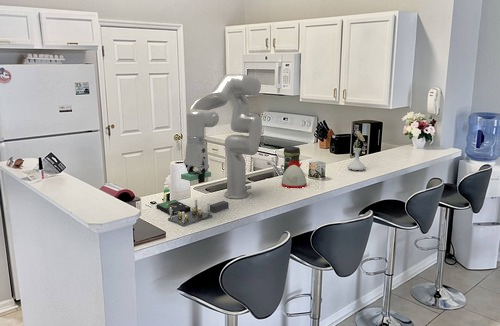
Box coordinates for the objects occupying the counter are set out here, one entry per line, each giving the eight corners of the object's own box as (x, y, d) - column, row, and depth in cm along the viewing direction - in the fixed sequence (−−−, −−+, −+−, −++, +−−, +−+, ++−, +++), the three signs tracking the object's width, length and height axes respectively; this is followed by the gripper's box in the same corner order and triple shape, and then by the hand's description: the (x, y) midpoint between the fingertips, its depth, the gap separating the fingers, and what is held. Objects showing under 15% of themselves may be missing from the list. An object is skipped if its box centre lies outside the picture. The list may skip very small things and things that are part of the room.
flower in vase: (366, 172, 276) (368, 132, 271) (347, 171, 278) (349, 132, 273) (364, 167, 289) (366, 129, 283) (346, 167, 290) (348, 129, 285)
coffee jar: (301, 176, 265) (302, 146, 261) (293, 179, 259) (293, 148, 255) (289, 174, 271) (290, 144, 267) (281, 176, 266) (281, 146, 262)
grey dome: (303, 189, 237) (304, 162, 234) (278, 187, 242) (279, 160, 238) (308, 183, 250) (309, 157, 247) (285, 181, 254) (285, 156, 251)
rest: (223, 206, 208) (223, 200, 208) (228, 208, 206) (228, 202, 205) (209, 211, 202) (209, 205, 201) (214, 213, 200) (214, 206, 199)
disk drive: (191, 212, 202) (175, 204, 213) (191, 207, 201) (175, 199, 212) (171, 217, 195) (155, 209, 207) (171, 211, 195) (155, 203, 206)
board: (201, 174, 197) (201, 168, 196) (211, 176, 193) (211, 170, 193) (181, 178, 188) (181, 172, 188) (190, 181, 184) (190, 175, 184)
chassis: (195, 211, 201) (195, 199, 200) (212, 217, 194) (212, 204, 193) (167, 220, 190) (167, 207, 188) (184, 226, 183) (183, 212, 181)
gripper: (216, 141, 185) (216, 183, 188) (189, 137, 196) (189, 176, 199) (203, 143, 179) (203, 186, 183) (176, 139, 190) (176, 179, 194)
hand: (196, 180), depth 191 cm, fingers closed on board, 6 cm apart
